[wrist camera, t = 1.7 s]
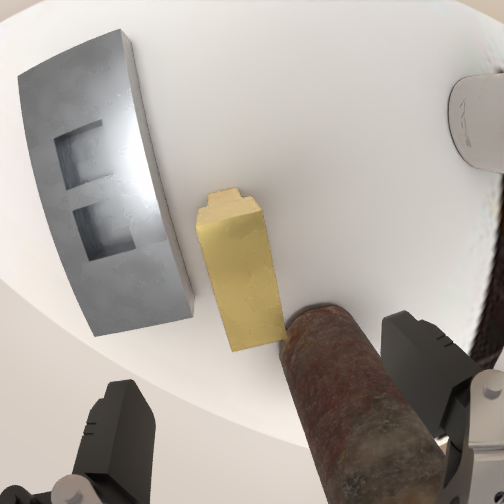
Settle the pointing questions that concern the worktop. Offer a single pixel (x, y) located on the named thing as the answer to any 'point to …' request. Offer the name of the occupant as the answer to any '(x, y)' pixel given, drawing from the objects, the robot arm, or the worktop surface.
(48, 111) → the grey slotted base
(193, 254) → the worktop surface
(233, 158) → the worktop surface
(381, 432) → the brown cylinder
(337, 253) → the worktop surface
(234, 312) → the yellow block
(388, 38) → the worktop surface
